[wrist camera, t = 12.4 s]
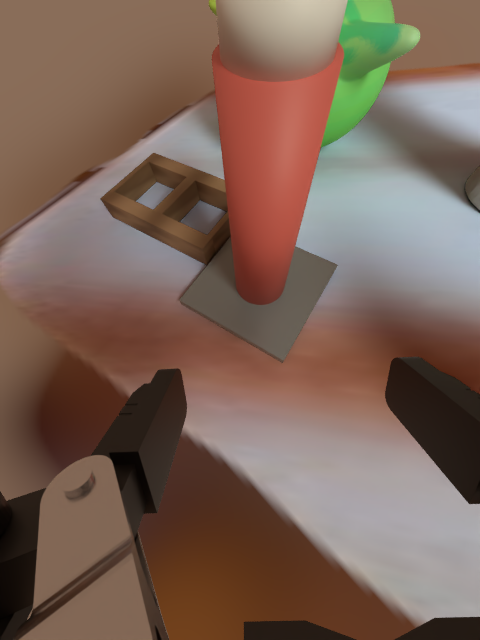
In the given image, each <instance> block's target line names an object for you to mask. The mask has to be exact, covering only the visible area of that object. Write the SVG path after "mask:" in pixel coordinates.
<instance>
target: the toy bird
mask: <svg viewBox="0 0 480 640" xmlns="http://www.w3.org/2000/svg"><path fill="white" fill-rule="evenodd" d="M209 7H210V9H211V10H212V12H213V13H214V14H215V15H216V16H217V13H216V1H215V0H209ZM419 39H420V32H419V30H418V29H416V28H415V27H413V26H409V25H404V24H396V23H395V20H394V13H393V7H392V3H391V0H348V2H347V6H346V10H345V15H344V19H343V23H342V28H341V32H340V36H339V40H338V42H339V43H340V44H341V46H342V48H343V50H344V59H343V62H342V66H341V70H340V74H339V78H338V82H337V86H336V90H335V93H334V97H333V101H332V105H331V109H330V113H329V117H328V121H327V125H326V128H325V132H324V136H323V140H322V144H321V147H323V146H326V145H328V144H330V143H332V142H334V141H336V140H338V139H339V138H341V137H342V136H344V135H345V134H347V133H348V132H349V131H350V130H351V129H353V128H354V127H355V126H356V125H357V124H358V123H359V122H360V121H361V120H362V118H363V117H364V116H365V115H366V114H367V112H368V111H369V109H370V108H371V107H372V105H373V103H374V102H375V100H376V98H377V97H378V95H379V93H380V91H381V89H382V87H383V84H384V82H385V79H386V77H387V74H388V71H389V67H390V63H391V61H393V60H395V59H397V58H399V57H401V56H402V55H404V54H405V53H407V52H409V51H410V50H411V49H412V48H414V47H415V46H416V44H417V43H418V42H419Z"/></svg>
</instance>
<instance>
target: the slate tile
mask: <svg viewBox="0 0 480 640" xmlns="http://www.w3.org/2000/svg"><path fill="white" fill-rule="evenodd" d="M337 266H338V265H337V264H335V263H332V262H330V261H328V260H325V259H323V258H321V257H318V256H316V255H314V254H311V253H309V252H307V251H304V250H302V249H300V248H298V247H295V249H294V253H293V256H292V260H291V264H290V268H289V272H288V276H287V280H286V284H285V287H284V291H283V293H282V295H281V296H280V297H279V298H278V299H277V300H276V301H274V302H272V303H270V304H266V305H255V304H251V303H249V302H247V301H245V300H244V299H243V298H242V297H241V296H240V295H239V293H238V291H237V288H236V280H235V271H234V262H233V252H232V243H231V237H230V238H229V239H228V241H227V242H226V243H225V244H224V246H223V247H222V248H221V249H220V250H219V252H218V253H217V254H216V255H215V257H214V258H213V259H212V260H211V262H210V263H209V264H208V265H207V267H206V268H205V269H204V270H203V271H202V273H201V274H200V275H199V276H198V278H197V279H196V280H195V281H194V283H193V284H192V285H191V286H190V288H189V289H188V290H187V291H186V292H185V294H184V295H183V296H182V297H181V299H180V302H181V304H182V305H184V306H186V307H188V308H189V309H191V310H193V311H194V312H196V313H198V314H200V315H201V316H203V317H205V318H206V319H208V320H210V321H212V322H213V323H215V324H217V325H218V326H220V327H222V328H224V329H225V330H227V331H229V332H230V333H232V334H234V335H236V336H237V337H239V338H241V339H242V340H244V341H246V342H248V343H249V344H251V345H253V346H254V347H256V348H258V349H259V350H261V351H263V352H265V353H266V354H268V355H270V356H271V357H273V358H275V359H277V360H278V361H280V362H282V363H283V361H284V359H285V358H286V356H287V354H288V352H289V351H290V349H291V347H292V345H293V344H294V342H295V340H296V338H297V336H298V335H299V333H300V331H301V329H302V328H303V326H304V324H305V322H306V321H307V319H308V317H309V315H310V313H311V312H312V310H313V308H314V306H315V305H316V303H317V301H318V299H319V298H320V296H321V294H322V292H323V290H324V289H325V287H326V285H327V283H328V282H329V280H330V278H331V276H332V275H333V273H334V271H335V269H336V267H337Z"/></svg>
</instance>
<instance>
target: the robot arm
mask: <svg viewBox="0 0 480 640" xmlns="http://www.w3.org/2000/svg"><path fill="white" fill-rule="evenodd" d="M465 190H466V193H467V196H468V198H469V199H470V201H471V202H472V203H473V204H474V205H475V206H476V207H477V208H478V209H479V210H480V166H479V167H478V168H477V169H476V170H475V171H474V172H473V174H472V175H471V176H470V177H469V178H468V179H467V182H466V185H465ZM385 398H386V402H387V404H388V407H389V408H390V410H391V411H392V412H393V413H394V415H395V416H396V417H397V418H398V419H399V420H400V422H401V423H402V424H403V425H404V426H405V428H406V429H407V430H408V431H409V432H410V434H411V435H412V436H413V437H414V438H415V440H416V441H417V442H418V443H419V444H420V446H421V447H422V448H423V449H424V450H425V452H426V453H427V454H428V455H429V456H430V458H431V459H432V460H433V461H434V462H435V464H436V465H437V466H438V467H439V468H440V470H441V471H442V472H443V473H444V474H445V476H446V477H447V478H448V479H449V480H450V482H451V483H452V484H453V485H454V486H455V488H456V489H457V490H458V491H459V492H460V493H461V495H462V496H463V497H464V498H465V499H466V501H467V502H468V503H469V504H480V395H479V394H478V393H476V392H475V391H474V390H473V391H471V390H470V388H469V387H468V386H466V385H465V384H463V383H462V382H460V381H459V380H458V379H456V378H454V377H452V376H450V375H448V374H445V373H443V372H441V371H439V370H438V369H436V368H435V367H433V366H432V365H430V364H429V363H428V362H426V361H425V360H423V359H422V358H420V357H401V358H394V359H393V360H392V362H391V366H390V371H389V376H388V381H387V386H386V391H385ZM186 412H187V402H186V396H185V391H184V385H183V380H182V374H181V371H180V369H161V370H158V371H157V373H156V374H155V376H154V378H153V379H152V381H151V383H148V384H143V385H142V386H141V387H140V388H138V389H137V390H136V391H135V392H134V393H133V394H132V395H131V397H130V398H129V399H128V401H127V403H126V404H125V406H124V407H123V408H122V410H121V411H120V413H119V416H117V417H116V419H115V420H114V422H113V423H112V425H111V426H110V428H109V430H108V431H107V432H106V434H105V435H104V437H103V438H102V440H101V441H100V443H99V444H98V446H97V447H96V449H95V450H94V452H93V453H92V455H91V456H89V457H86V458H83V459H81V460H79V461H76V462H75V463H73V464H71V465H70V466H68V467H67V468H66V469H64V470H63V471H62V472H60V473H59V474H58V475H57V476H56V477H55V478H54V479H53V480H52V482H51V483H50V484H49V485H48V487H47V488H45V489H42V490H38V491H35V492H32V493H29V494H27V495H23V496H20V497H18V498H14V499H11V500H8V501H6V500H5V498H4V496H3V495H2V493H1V492H0V640H169V638H168V634H167V632H166V628H165V625H164V622H163V619H162V615H161V612H160V608H159V605H158V602H157V598H156V594H155V591H154V587H153V583H152V580H151V576H150V573H149V569H148V565H147V562H146V558H145V555H144V551H143V547H142V544H141V540H140V537H139V533H138V528H139V525H140V522H141V519H142V516H143V514H145V513H157V512H158V508H159V505H160V502H161V498H162V495H163V492H164V488H165V485H166V482H167V478H168V475H169V472H170V468H171V465H172V462H173V458H174V455H175V452H176V448H177V445H178V441H179V438H180V435H181V432H182V428H183V425H184V422H185V418H186ZM32 608H33V610H32ZM31 610H32V614H31V616H30V618H29V619H28V620H27V618H28V616H29V614H30V612H31ZM244 640H356V639H353V638H350V637H348V636H345V635H342V634H340V633H337V632H334V631H331V630H329V629H326V628H324V627H321V626H318V625H316V624H313V623H310V622H308V621H262V622H244ZM395 640H480V617H455V618H434V619H432V620H430V621H428V622H426V623H424V624H423V625H421V626H419V627H417V628H415V629H413V630H412V631H410V632H408V633H406V634H404V635H402V636H401V637H399V638H397V639H395Z"/></svg>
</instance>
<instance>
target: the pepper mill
mask: <svg viewBox="0 0 480 640" xmlns="http://www.w3.org/2000/svg"><path fill="white" fill-rule="evenodd" d="M215 1H216V13H217V25H218V36H219V45H218V46H217V47H216V48H215V50H214V51H213V54H212V66H213V75H214V84H215V94H216V103H217V112H218V122H219V131H220V140H221V150H222V159H223V168H224V178H225V187H226V196H227V206H228V215H229V224H230V234H231V243H232V252H233V262H234V271H235V280H236V288H237V291H238V293H239V295H240V296H241V297H242V298H243V299H244V300H245V301H247V302H249V303H251V304H255V305H266V304H270V303H272V302H274V301H276V300H277V299H278V298H279V297H280V296H281V295H282V293H283V291H284V287H285V284H286V280H287V276H288V272H289V268H290V264H291V260H292V256H293V253H294V249H295V245H296V241H297V237H298V233H299V229H300V225H301V221H302V218H303V214H304V210H305V206H306V202H307V198H308V194H309V190H310V187H311V183H312V179H313V175H314V171H315V167H316V163H317V159H318V156H319V152H320V148H321V144H322V140H323V136H324V132H325V128H326V125H327V121H328V117H329V113H330V109H331V105H332V101H333V97H334V93H335V90H336V86H337V82H338V78H339V74H340V70H341V66H342V62H343V59H344V50H343V48H342V46H341V44H340V43H339V42H338V40H339V36H340V32H341V28H342V23H343V19H344V15H345V10H346V6H347V2H348V0H215Z"/></svg>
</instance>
